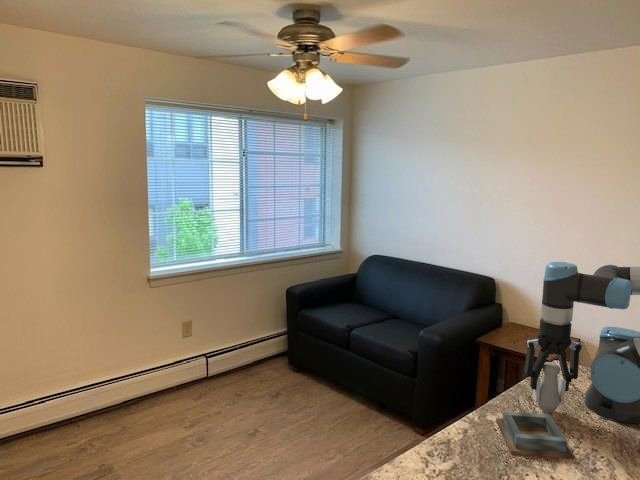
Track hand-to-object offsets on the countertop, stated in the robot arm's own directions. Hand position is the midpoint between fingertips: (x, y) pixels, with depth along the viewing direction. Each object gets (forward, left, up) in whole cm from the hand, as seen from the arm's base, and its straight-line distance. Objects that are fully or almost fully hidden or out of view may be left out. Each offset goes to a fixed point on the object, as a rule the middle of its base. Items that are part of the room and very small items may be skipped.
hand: (547, 400), depth 128 cm
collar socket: (+8, +14, -3) cm, 16 cm away
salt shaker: (0, 0, -3) cm, 3 cm away
